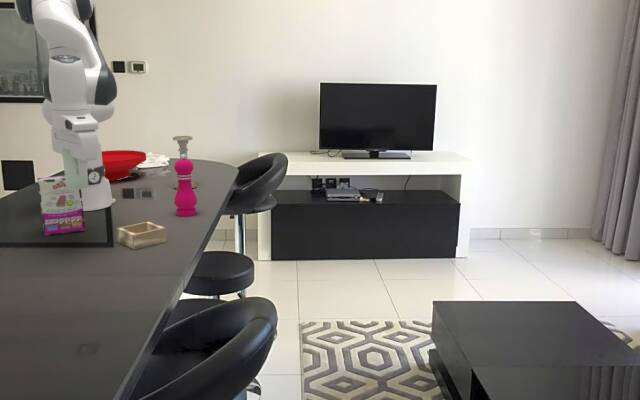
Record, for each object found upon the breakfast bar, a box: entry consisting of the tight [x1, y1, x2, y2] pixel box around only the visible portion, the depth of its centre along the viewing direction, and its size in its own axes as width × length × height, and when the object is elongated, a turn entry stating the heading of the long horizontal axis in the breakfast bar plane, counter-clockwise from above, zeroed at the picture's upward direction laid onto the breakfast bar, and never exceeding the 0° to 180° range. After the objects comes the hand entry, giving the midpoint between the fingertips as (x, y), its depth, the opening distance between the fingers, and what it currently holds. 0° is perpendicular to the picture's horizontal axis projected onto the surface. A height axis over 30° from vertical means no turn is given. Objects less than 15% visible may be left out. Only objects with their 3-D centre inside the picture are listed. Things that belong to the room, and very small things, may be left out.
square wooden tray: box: [116, 220, 167, 250], centre depth 153 cm, size 10×10×4 cm
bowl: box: [102, 149, 147, 182], centre depth 235 cm, size 30×30×10 cm
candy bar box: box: [37, 175, 86, 237], centre depth 161 cm, size 11×5×16 cm, turn 117°
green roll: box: [62, 149, 89, 189], centre depth 145 cm, size 6×6×10 cm
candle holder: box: [172, 135, 197, 190], centre depth 218 cm, size 9×9×20 cm
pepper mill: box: [174, 154, 198, 217], centre depth 180 cm, size 7×7×20 cm
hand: (76, 173), depth 145 cm, fingers closed on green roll, 5 cm apart
